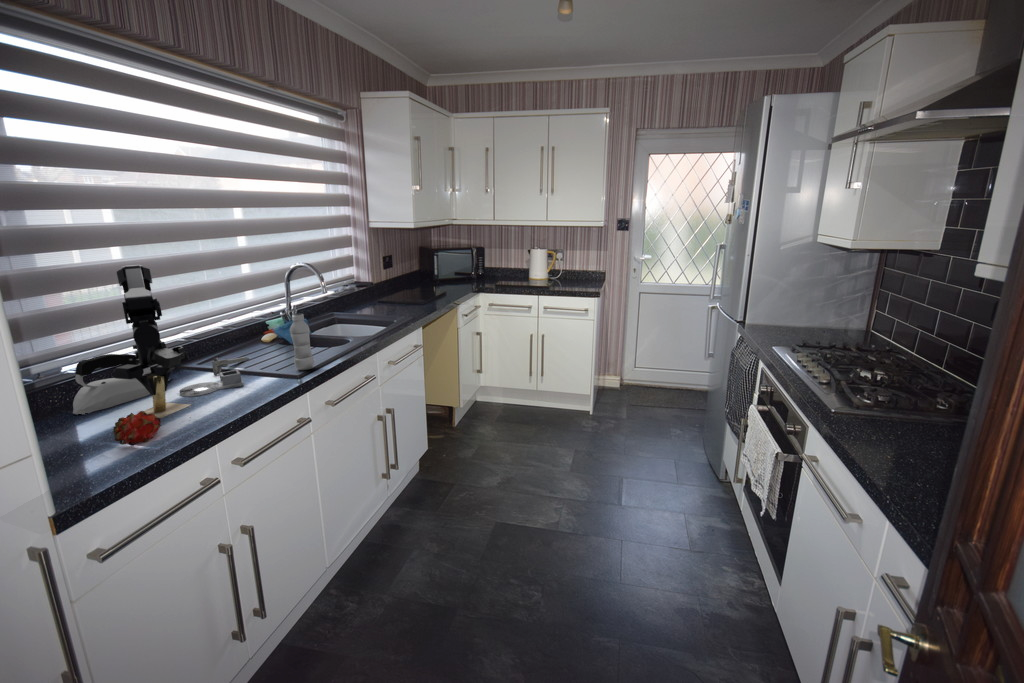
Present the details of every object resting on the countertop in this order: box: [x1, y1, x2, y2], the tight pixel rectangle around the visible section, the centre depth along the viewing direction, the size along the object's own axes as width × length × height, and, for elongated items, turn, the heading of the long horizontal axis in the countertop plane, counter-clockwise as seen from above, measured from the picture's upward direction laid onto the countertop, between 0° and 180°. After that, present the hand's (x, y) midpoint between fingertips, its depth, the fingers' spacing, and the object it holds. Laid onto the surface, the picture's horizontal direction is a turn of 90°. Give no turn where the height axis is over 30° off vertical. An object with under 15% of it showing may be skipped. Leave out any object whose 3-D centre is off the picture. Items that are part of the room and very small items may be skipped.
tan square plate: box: [134, 402, 191, 419], centre depth 149 cm, size 10×10×1 cm
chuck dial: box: [179, 369, 244, 398], centre depth 166 cm, size 18×11×4 cm, turn 126°
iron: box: [72, 353, 170, 415], centre depth 157 cm, size 11×24×15 cm, turn 153°
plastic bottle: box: [289, 313, 315, 371], centre depth 183 cm, size 6×7×20 cm
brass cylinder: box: [152, 375, 167, 412], centre depth 148 cm, size 3×3×10 cm
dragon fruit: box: [112, 410, 162, 447], centre depth 129 cm, size 8×8×12 cm
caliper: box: [212, 356, 250, 376], centre depth 191 cm, size 20×1×6 cm, turn 176°
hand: (158, 393), depth 148 cm, fingers closed on brass cylinder, 3 cm apart
